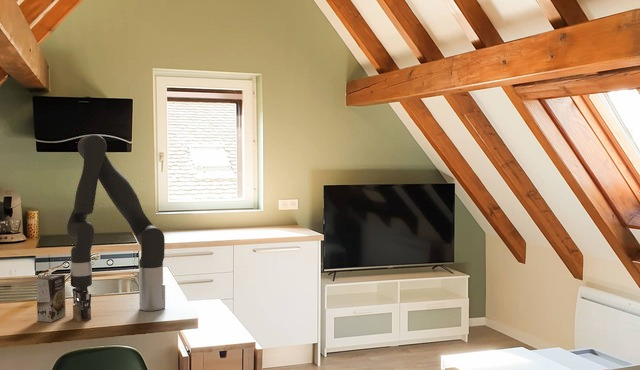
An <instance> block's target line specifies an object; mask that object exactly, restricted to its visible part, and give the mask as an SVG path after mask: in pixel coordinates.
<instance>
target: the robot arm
mask: <svg viewBox="0 0 640 370" xmlns="http://www.w3.org/2000/svg"><path fill="white" fill-rule="evenodd" d="M107 149H108V145H107V141H106V140H105V138H103V137H102V136H101V135H98V134H90V135H84V136H83V137H81V138H80V139H79V140H78V144H77V152H78V154H79V155H80V156H81V158H82V159H83V166H82V172H81V176H80V179H79V182H78V185H77V189H76V191H75V196H74V197H75V198H74V205H73V209H72V212H71V213H70V216H69V219H68V220H67V226H66V231H67V235H68V236H69V237H70V238H72V239H75V240H76V244H75V245H74V246H72V247H71V250H70V286H71V287H72V291H71V292H72V300H73V305H79V304H80V305H81V319H82V320H83V321H86V320H85V319H88V309H90V306H91V305H92V303H91V302H92V294H91V293H89V290H88V287H90V286H92V285H93V271H92V270H93V269H92V268H93V267H92V247H93V242H94V238H95V228H94V225H93V224H92V223H91V222H90V221H87V218H88V216H89V215H91V214H93V212H94V208H95V203H96V202H95V201H96V193H97V189H98V181H99V182H100V184H101V186H102V187H103V189H104V191H105V193H106V194H107V196H108V197H109V199H110V200H111V202H112V203H113V205H114V207H116V209H117V211H118V212H119V213H120V214H121V216H122V217H123V218H124V219H125V220H126V222H127V223H128V225H129V227H130V229H131V230H132V233H133V234H134V236H135V239H136V240H137V243H138V244H139V245H140V246H141V247H140V250H141V251H140V259H138V260H139V261H138V266H139V267H138V268H139V270H138V271H139V273H138V275H139V276H138V277H139V278H138V279H139V280H138V281H139V283H138V285H139V286H138V287H139V290H138V291H139V310H141V311H144V312H145V311H146V312H152V311H153V312H154V311H160V310H162V309H165V308H166V285H165V284H164V271H163V270H164V259H165V245H166V244H165V242H166V239H165V234H164V232H163V231H162V230H161V229H160V228H158V227H156V226H155V225H154V224H153V222H151V220H150V219H149V218H148V217H147V215H146V214H145V212H144V210H143V207H142V205H141V202H140V200H139V197H138V194H136V192H135V189H134V188H133V186H132V185H131V183H130V182H129V180H128V179H127V178H126V177H125V176H124V175H123V174H122V173H121V171H119V170H118V169H117V168H116V166H114V165H113V163H112V162H111V161H110V159H109V158H108V156H107V154H106V153H107ZM85 304H86V306H85Z"/></svg>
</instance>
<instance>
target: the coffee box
mask: <svg viewBox="0 0 640 370" xmlns="http://www.w3.org/2000/svg"><path fill="white" fill-rule="evenodd" d="M36 313H37V314H36V316H37V317H36V319H37V320H36V321H37V322H46V323H53V322H55V321H57V320H59V319H61V318H64V317H65V316H66V274H58V273H57V274H56V273H55V274H53V273H52V274H48V275H44V276H41V277H39V278H36Z"/></svg>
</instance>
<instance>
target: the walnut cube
mask: <svg viewBox="0 0 640 370" xmlns="http://www.w3.org/2000/svg"><path fill="white" fill-rule="evenodd" d="M85 306H86V304H85ZM72 319H73V320H75V321H77V322H81V321H89V320H92V306H91V305H90V309H88V319H85V320H82V319H81V305H80V304H79V305H75V304H73V305H72Z"/></svg>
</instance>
